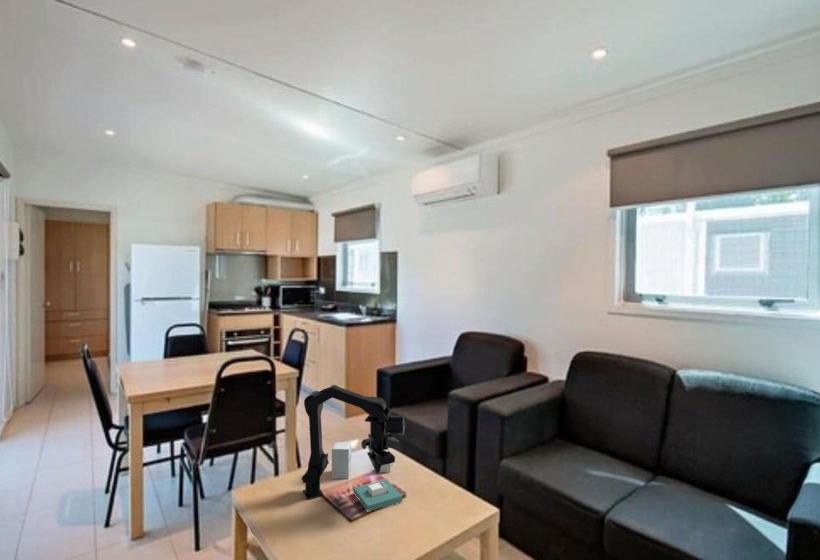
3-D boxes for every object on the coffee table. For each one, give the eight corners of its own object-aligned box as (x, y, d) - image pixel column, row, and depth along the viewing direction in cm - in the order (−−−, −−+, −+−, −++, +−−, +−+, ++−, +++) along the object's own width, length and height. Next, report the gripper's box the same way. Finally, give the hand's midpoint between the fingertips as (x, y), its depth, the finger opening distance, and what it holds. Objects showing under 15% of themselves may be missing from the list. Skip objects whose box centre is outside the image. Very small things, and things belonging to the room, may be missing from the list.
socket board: (353, 494, 164) (353, 487, 163) (386, 485, 170) (386, 479, 170) (367, 512, 151) (367, 505, 151) (402, 502, 158) (402, 495, 158)
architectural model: (378, 469, 185) (378, 452, 184) (393, 470, 184) (394, 453, 184) (377, 473, 181) (377, 456, 181) (393, 474, 181) (393, 457, 180)
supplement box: (348, 479, 175) (348, 449, 175) (331, 478, 175) (331, 449, 175) (351, 470, 183) (351, 442, 182) (334, 470, 183) (334, 441, 182)
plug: (368, 498, 161) (368, 484, 161) (382, 494, 164) (382, 481, 164) (372, 503, 158) (372, 489, 157) (386, 499, 160) (386, 485, 160)
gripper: (407, 437, 156) (407, 478, 156) (386, 421, 172) (386, 458, 172) (380, 443, 150) (380, 485, 151) (360, 425, 167) (360, 464, 167)
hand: (377, 472), depth 160 cm, fingers closed
